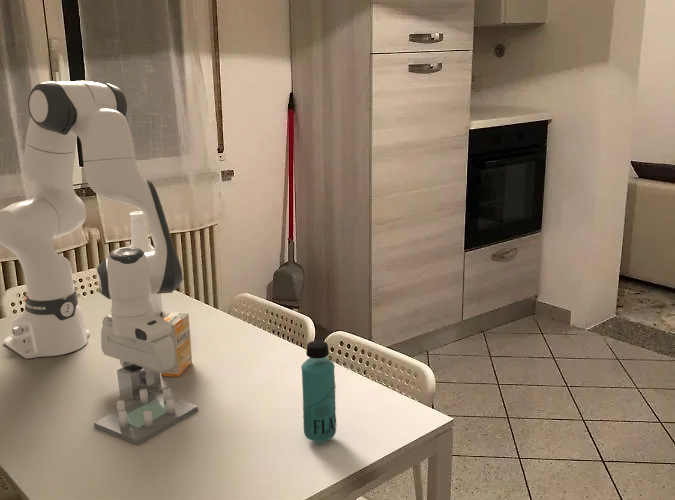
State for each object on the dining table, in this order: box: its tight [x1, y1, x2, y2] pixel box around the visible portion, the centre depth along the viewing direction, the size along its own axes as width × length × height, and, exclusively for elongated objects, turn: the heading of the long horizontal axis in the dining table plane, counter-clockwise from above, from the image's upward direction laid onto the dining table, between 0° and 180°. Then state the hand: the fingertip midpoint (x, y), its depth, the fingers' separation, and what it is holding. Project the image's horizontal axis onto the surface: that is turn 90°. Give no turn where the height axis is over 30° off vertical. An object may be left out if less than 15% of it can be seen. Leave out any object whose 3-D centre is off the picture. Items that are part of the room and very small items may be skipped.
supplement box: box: [160, 311, 193, 378], centre depth 165 cm, size 8×5×13 cm, turn 168°
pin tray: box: [93, 387, 198, 446], centre depth 144 cm, size 13×16×4 cm
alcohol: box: [129, 210, 163, 316], centre depth 199 cm, size 9×9×30 cm
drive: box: [116, 364, 162, 401], centre depth 156 cm, size 4×8×6 cm, turn 146°
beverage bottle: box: [300, 340, 338, 442], centre depth 133 cm, size 6×7×20 cm
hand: (139, 380), depth 156 cm, fingers closed on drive, 4 cm apart
